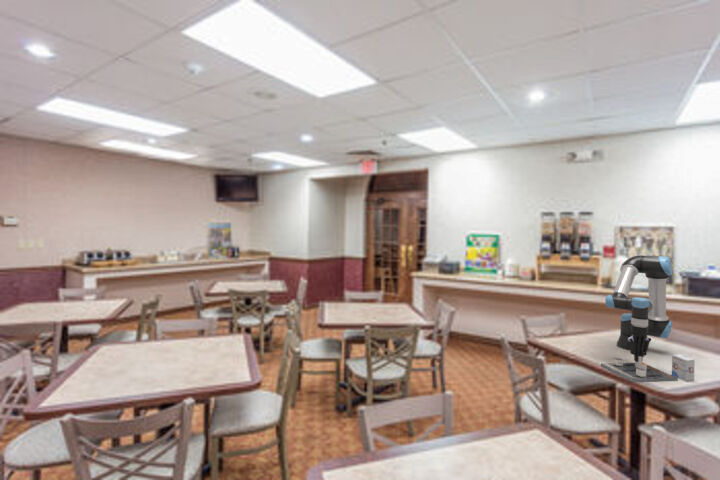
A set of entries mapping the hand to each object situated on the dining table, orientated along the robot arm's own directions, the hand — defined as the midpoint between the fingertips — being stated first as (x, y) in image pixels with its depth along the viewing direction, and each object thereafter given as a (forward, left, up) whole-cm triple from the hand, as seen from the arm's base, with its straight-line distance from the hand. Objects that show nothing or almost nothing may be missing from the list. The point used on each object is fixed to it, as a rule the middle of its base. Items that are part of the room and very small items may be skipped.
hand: (638, 367), depth 199 cm
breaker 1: (+5, -7, -1) cm, 9 cm away
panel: (0, 0, -3) cm, 3 cm away
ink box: (-19, +8, -4) cm, 21 cm away
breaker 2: (+5, +8, -1) cm, 9 cm away
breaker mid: (-2, 0, -1) cm, 3 cm away
